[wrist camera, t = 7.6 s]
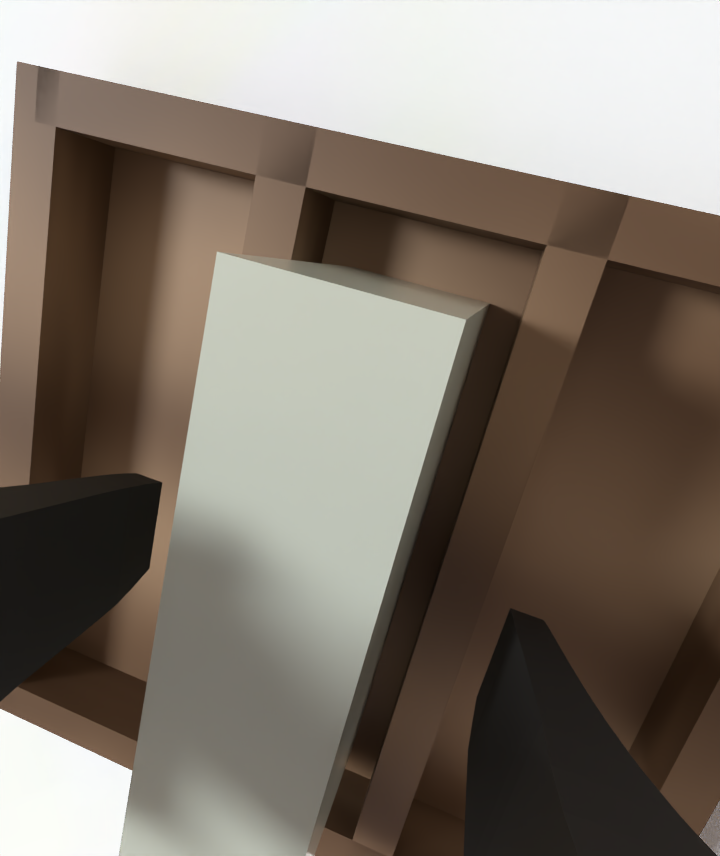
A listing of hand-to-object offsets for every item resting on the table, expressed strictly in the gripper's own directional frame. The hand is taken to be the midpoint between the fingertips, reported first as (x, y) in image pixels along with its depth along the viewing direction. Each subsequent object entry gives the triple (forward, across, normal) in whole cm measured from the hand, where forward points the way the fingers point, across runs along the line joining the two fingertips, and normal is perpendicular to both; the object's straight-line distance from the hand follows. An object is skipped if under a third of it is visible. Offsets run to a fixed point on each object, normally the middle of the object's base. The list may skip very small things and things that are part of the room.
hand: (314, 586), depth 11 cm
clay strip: (+3, 0, 0) cm, 3 cm away
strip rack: (+3, 0, 0) cm, 3 cm away
